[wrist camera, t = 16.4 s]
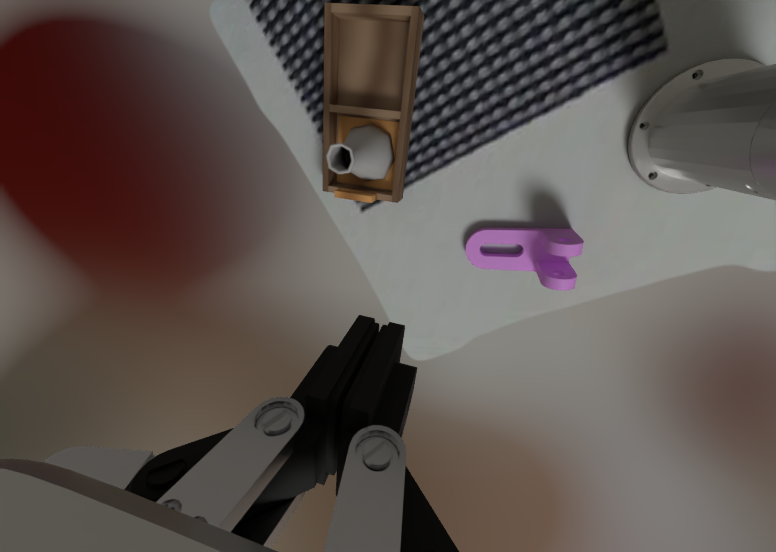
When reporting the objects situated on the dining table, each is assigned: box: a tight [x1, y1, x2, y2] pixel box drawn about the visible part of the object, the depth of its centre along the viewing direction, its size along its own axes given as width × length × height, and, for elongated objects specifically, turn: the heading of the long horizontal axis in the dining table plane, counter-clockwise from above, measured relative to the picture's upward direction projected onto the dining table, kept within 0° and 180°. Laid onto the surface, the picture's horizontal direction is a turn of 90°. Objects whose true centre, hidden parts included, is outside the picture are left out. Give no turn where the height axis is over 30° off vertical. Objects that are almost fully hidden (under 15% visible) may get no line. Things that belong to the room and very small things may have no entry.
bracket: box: [466, 227, 584, 290], centre depth 40 cm, size 13×6×7 cm, turn 93°
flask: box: [326, 124, 394, 181], centre depth 38 cm, size 7×7×10 cm
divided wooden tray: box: [323, 3, 424, 203], centre depth 39 cm, size 11×20×6 cm, turn 174°
